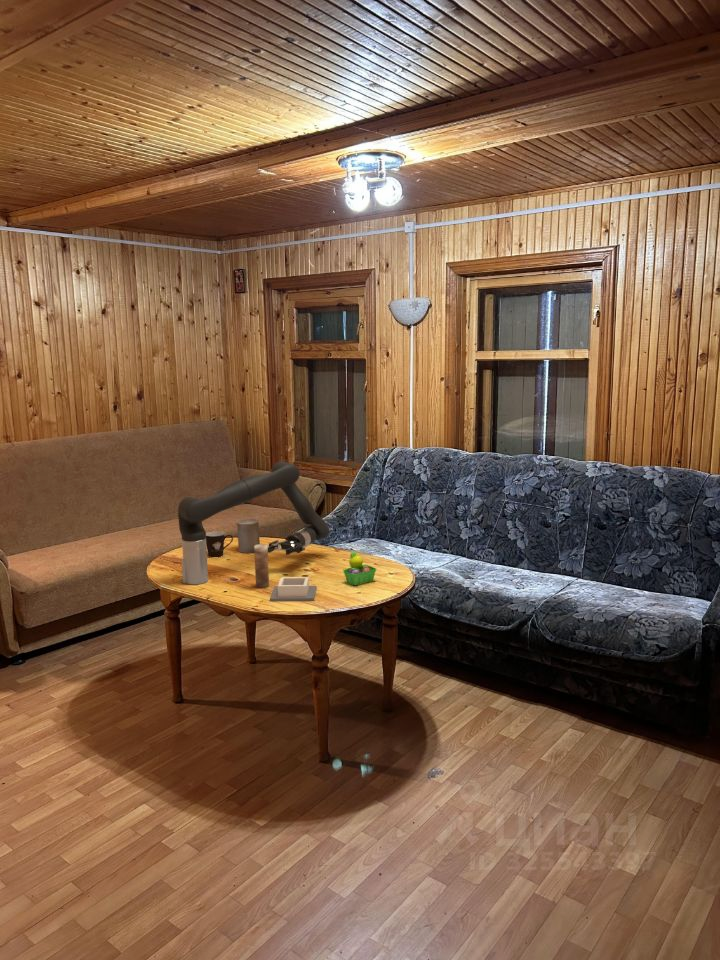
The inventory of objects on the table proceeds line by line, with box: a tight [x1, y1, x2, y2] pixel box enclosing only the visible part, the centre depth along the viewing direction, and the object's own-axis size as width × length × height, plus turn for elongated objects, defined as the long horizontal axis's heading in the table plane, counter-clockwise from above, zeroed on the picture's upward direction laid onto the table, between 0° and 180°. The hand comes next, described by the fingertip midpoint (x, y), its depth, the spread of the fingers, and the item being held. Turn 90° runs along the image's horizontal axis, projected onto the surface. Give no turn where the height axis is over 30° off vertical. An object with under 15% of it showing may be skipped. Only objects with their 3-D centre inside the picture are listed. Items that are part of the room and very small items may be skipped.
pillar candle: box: [236, 518, 261, 554], centre depth 329 cm, size 10×10×15 cm
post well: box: [269, 576, 318, 602], centre depth 270 cm, size 16×14×5 cm
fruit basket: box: [342, 551, 377, 586], centre depth 284 cm, size 11×9×11 cm
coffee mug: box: [206, 531, 234, 558], centre depth 322 cm, size 12×9×10 cm
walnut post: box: [254, 543, 270, 589], centre depth 279 cm, size 5×5×16 cm
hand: (277, 551), depth 288 cm, fingers open, 8 cm apart
